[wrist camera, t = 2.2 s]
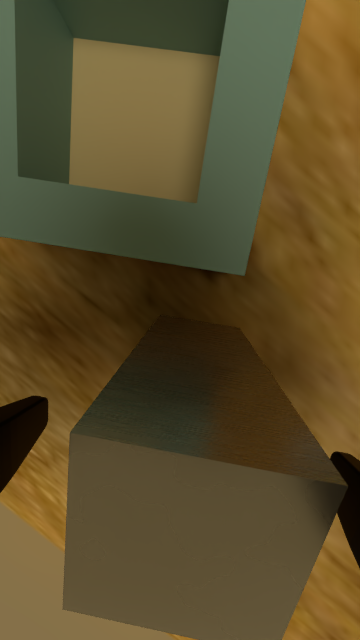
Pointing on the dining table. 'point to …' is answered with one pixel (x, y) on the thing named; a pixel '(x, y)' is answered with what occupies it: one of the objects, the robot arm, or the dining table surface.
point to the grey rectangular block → (195, 491)
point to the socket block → (142, 123)
